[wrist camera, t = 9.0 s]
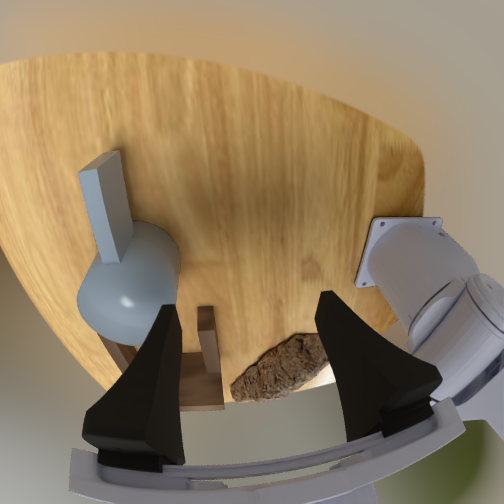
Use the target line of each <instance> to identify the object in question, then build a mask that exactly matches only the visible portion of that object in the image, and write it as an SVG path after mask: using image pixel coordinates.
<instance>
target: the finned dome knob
mask: <svg viewBox="0 0 504 504" xmlns="http://www.w3.org/2000/svg"><path fill="white" fill-rule="evenodd" d="M78 175H79V180H80V184H81V189H82V193H83V197H84V201H85V205H86V209H87V213H88V217H89V220H90V224H91V227H92V231H93V234H94V237H95V241H96V244H97V247H98V252H97V254H96V256H95V258H94V260H93V262H92V264H91V266H90V268H89V270H88V272H87V274H86V276H85V278H84V280H83V282H82V284H81V287H80V289H79V291H78V294H77V306H78V309H79V312H80V314H81V316H82V317H83V319H84V320H85V322H86V323H87V324H88V325H89V326H90V327H91V328H92V329H93V330H94V331H96V332H97V333H98V334H100V335H102V336H103V337H105V338H107V339H109V340H111V341H114V342H117V343H120V344H124V345H130V346H142V344H143V342H144V340H145V339H146V337H147V335H148V333H149V331H150V329H151V327H152V325H153V323H154V321H155V319H156V317H157V315H158V312H159V310H160V308H161V306H162V305H163V304H175V306H176V299H177V290H178V280H179V272H180V263H181V257H180V252H179V249H178V247H177V245H176V243H175V241H174V240H173V239H172V237H171V236H170V235H169V234H168V233H166V232H165V231H164V230H162V229H161V228H159V227H157V226H155V225H153V224H150V223H147V222H141V221H132V218H131V213H130V208H129V203H128V198H127V193H126V187H125V181H124V175H123V169H122V163H121V156H120V150H117V151H111V152H106V153H103V154H101V155H100V156H99V157H97V158H96V159H95V160H93V161H92V162H91V163H89V164H88V165H87V166H85V167H84V168H83V169H82V170H80V171H79V172H78Z"/></svg>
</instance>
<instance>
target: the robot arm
mask: <svg viewBox="0 0 504 504" xmlns="http://www.w3.org/2000/svg"><path fill="white" fill-rule="evenodd" d="M381 222H382V224H381ZM442 223H443V220H442V219H441V218H440V217H377V218H375V219H373V221H372V224H371V228H370V231H369V235H368V239H367V243H366V247H365V250H364V254H363V257H362V261H361V264H360V268H359V271H358V274H357V277H356V281H355V286H356V287H357V288H362V287H369V286H376V285H377V287H378V288H379V290H380V291H381V293H382V295H383V296H384V298H385V299H386V301H387V302H388V304H389V305H390V307H391V309H392V310H393V312H394V313H395V315H396V317H397V318H398V320H399V321H400V323H401V325H402V326H403V328H404V330H405V331H406V333H407V335H408V336H409V338H408V340H407V341H406V343H405V346H406V348H407V350H408V351H409V353H407V352H405V351H403V350H402V349H400V348H398V347H397V346H395V345H393V344H392V343H391V342H389V341H388V340H386V339H385V338H384V337H382V336H381V335H380V334H378V333H377V332H376V331H374V330H373V329H372V328H371V327H370V326H369V325H367V324H366V323H365V322H364V321H363V320H362V319H361V318H360V317H359V316H358V315H357V314H355V313H354V312H353V311H352V310H351V309H350V308H349V307H348V306H347V305H346V304H345V303H344V302H343V301H342V300H341V299H340V298H339V297H338V296H337V295H336V294H335V293H334V292H333V291H332V290H330V291H322V292H321V294H320V298H319V302H318V307H317V310H316V314H315V318H314V319H315V323H316V327H317V331H318V335H319V338H320V340H321V343H322V345H323V348H324V350H325V353H326V355H327V358H328V360H329V363H330V365H331V368H332V370H333V373H334V376H335V379H336V383H337V387H338V391H339V395H340V400H341V405H342V409H343V415H344V421H345V428H346V436H347V443H345V444H341V445H338V446H334V447H331V448H327V449H323V450H319V451H315V452H311V453H306V454H301V455H296V456H291V457H286V458H280V459H274V460H267V461H260V462H251V463H241V464H231V465H229V464H228V465H207V466H183V464H185V456H184V450H183V442H182V433H181V422H180V407H179V383H180V371H181V359H182V329H181V325H180V321H179V318H178V314H177V310H176V306H175V304H163V305H162V306H161V308H160V310H159V312H158V315H157V317H156V319H155V321H154V323H153V325H152V327H151V329H150V331H149V333H148V335H147V337H146V339H145V340H144V342H143V344H142V346H141V347H140V349H139V351H138V352H137V354H136V355H135V357H134V359H133V360H132V362H131V363H130V364H129V366H128V367H127V369H126V370H125V371H124V373H123V374H122V375H121V376H120V378H119V379H118V380H117V381H116V383H115V384H114V385H113V386H112V387H111V388H110V389H109V390H108V391H107V392H106V393H105V395H104V396H103V397H102V398H101V399H100V400H99V401H97V402H96V403H95V404H94V405H93V406H92V407H91V408H90V409H88V410H87V411H86V415H85V418H84V423H83V430H82V437H83V439H84V440H85V441H87V442H88V443H90V444H91V445H93V446H95V447H96V448H98V450H99V451H98V454H96V453H93V452H89V451H85V450H80V449H76V448H72V452H71V462H70V477H69V491H70V492H71V493H74V494H77V495H80V496H84V497H87V498H90V499H94V500H98V501H102V502H106V503H110V504H379V501H378V497H377V494H376V491H375V487H374V484H373V482H375V481H377V480H380V479H382V478H384V477H387V476H389V475H391V474H393V473H395V472H397V471H400V470H401V469H403V468H405V467H407V466H409V465H411V464H413V463H415V462H417V461H419V460H421V459H422V458H424V457H426V456H428V455H429V454H431V453H433V452H434V451H436V450H438V449H439V448H441V447H442V446H444V445H446V444H447V443H449V442H450V441H452V440H453V439H455V438H456V437H458V436H459V435H460V434H462V433H464V432H465V430H466V429H465V427H464V425H463V422H462V421H464V420H476V419H485V420H486V421H487V422H488V423H489V424H490V426H491V427H492V428H493V429H494V430H495V431H496V432H497V434H498V435H499V436H500V437H501V438H502V440H503V441H504V288H503V287H502V286H501V285H500V284H499V283H497V282H496V281H495V280H494V279H492V278H491V277H489V276H488V275H486V274H483V273H479V270H478V267H477V264H476V262H475V261H474V259H473V258H472V257H471V256H470V255H469V254H468V253H467V252H466V251H465V250H464V249H463V248H462V247H461V246H460V245H459V244H458V243H457V242H456V241H455V240H454V239H453V238H451V237H450V236H449V235H448V234H447V233H446V232H445V231H444V230H443V229H442V228H441V226H442ZM357 453H359V454H357ZM354 454H357V455H354ZM351 455H354V456H351ZM348 456H351V457H349V458H346V459H344V460H341V461H340V462H339V463H338V464H336V465H334V466H332V467H330V468H329V471H325V472H320V473H316V474H312V475H307V476H303V477H298V478H293V479H288V480H283V481H277V482H271V483H265V484H258V485H251V486H243V487H233V488H228V486H227V485H224V484H223V482H220V481H191V480H215V479H233V478H245V477H254V476H262V475H269V474H275V473H282V472H287V471H293V470H298V469H303V468H307V467H312V466H316V465H319V464H324V463H327V462H331V461H335V460H338V459H342V458H345V457H348Z"/></svg>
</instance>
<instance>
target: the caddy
mask: <svg viewBox="0 0 504 504" xmlns="http://www.w3.org/2000/svg"><path fill="white" fill-rule="evenodd" d="M97 334H98V333H97ZM98 335H99V337H100V339H101V341H102V342H103V344H104V346H105V347H106V349H107V350H108V352H109V354H110V355H111V357H112V358H113V360H114V361H115V363H116V364H117V366H118V367H119V369H120V370H121V372H122V373H124V371H125V370H126V369H127V367H128V366H129V364H130V363H131V362H132V360H133V359H134V357H135V355H136V354H137V352H136V350H135V348H134V346H130V345H124V344H120V343H117V342H114V341H111V340H109V339H107V338H105V337H103V336H102V335H100V334H98ZM198 336H199V340H200V345H201V349H202V352H201V353H182V359H181V371H180V383H179V407H180V411H213V410H224V409H225V408H224V397H223V386H222V375H221V363H220V354H219V347H218V340H217V332H216V325H215V317H214V309H213V306H208V307H198Z"/></svg>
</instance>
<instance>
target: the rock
mask: <svg viewBox="0 0 504 504" xmlns="http://www.w3.org/2000/svg"><path fill="white" fill-rule="evenodd" d="M328 364H329V360H328V358H327V355H326V353H325V350H324V348H323V345H322V343H321V340H320V338H319V335H318V334H312V335H308V334H306V335H305V336H303V335H295V336H294V337H293V338H292V339H291V340H290V341H289V342H283V343H282V344H280V345H279V346H278V347H277V348H274V349H272V350H271V351H270V352H268V353H267V354H266V355H265V356H264V357H263V358H262V359H261V361H259V362H258V364H257V365H256V366H253V367H251V368H249V369H248V370H247V371H246V374H245V375H243V376H239V377H238V380H237V381H236V382H235V384H234V385H233V386H232V387H231V390H230V392H231V394H232V398H233V399H234V400H235V401H236V402H239V403H247V402H266V401H275V400H278V399H281V398H284V397H286V396H287V395H289V394H290V393H292V392H293V391H294V390H297V389H299V388H300V387H302V386H303V385H304V384H305V383H306V382H308V381H310V380H312V379H313V378H314V377H315V376H317V374H318V373H319V371H321V370H322V369H323V368H325V367H326V366H327V365H328Z"/></svg>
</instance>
